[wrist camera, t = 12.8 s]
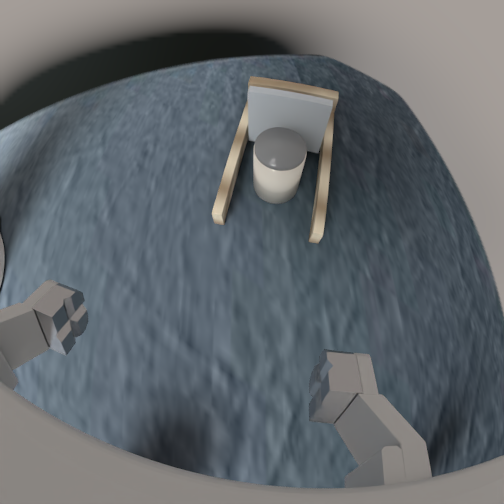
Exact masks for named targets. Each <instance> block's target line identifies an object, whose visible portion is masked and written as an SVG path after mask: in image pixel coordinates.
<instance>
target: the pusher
mask: <svg viewBox="0 0 504 504" xmlns="http://www.w3.org/2000/svg"><path fill="white" fill-rule="evenodd" d="M332 107H333V100H329V99H325V98H320V97H315V96H311V95H306V94H300V93H295V92H289V91H283V90H277V89H271V88H264V87H256V86H250V87H249V89H248V132H249V141H256V138H257V137H258V135H259V134H260V133H262V132H263V131H265V130H267V129H270V128H274V127H283V128H288V129H291V130H293V131H295V132H297V133H298V134H299V135H300V136H301V137H302V138H303V139H304V141H305V143H306V147H307V151H310V152H314V153H319V149H320V146H321V143H322V140H323V137H324V134H325V130H326V127H327V124H328V121H329V117H330V114H331V111H332Z"/></svg>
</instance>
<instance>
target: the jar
mask: <svg viewBox="0 0 504 504" xmlns="http://www.w3.org/2000/svg"><path fill="white" fill-rule="evenodd" d="M306 156H307V147H306V143H305V141H304V139H303V138H302V137H301V136H300V135H299V134H298V133H297V132H295V131H293V130H291V129H288V128H283V127H274V128H270V129H267V130H265V131H263V132H262V133H260V134H259V135H258V137H257V138H256V141H255V144H254V155H253V186H254V190H255V192H256V194H257V195H258V196H259V197H260V198H261V199H262V200H264V201H266V202H268V203H273V204H281V203H285V202H287V201H289V200H291V199H292V198H293V197H294V196H295V194H296V192H297V189H298V185H299V182H300V178H301V174H302V171H303V167H304V163H305V160H306Z"/></svg>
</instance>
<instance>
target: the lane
mask: <svg viewBox="0 0 504 504" xmlns="http://www.w3.org/2000/svg"><path fill="white" fill-rule="evenodd" d="M250 86H256V87H264V88H271V89H277V90H283V91H289V92H295V93H300V94H306V95H311V96H315V97H320V98H325V99H329V100H333V107H332V111H331V114H330V117H329V121H328V124H327V127H326V130H325V134H324V137H323V140H322V143H321V148H320V157H319V166H318V175H317V183H316V191H315V199H314V207H313V214H312V221H311V228H310V235H309V242H313V243H318V242H319V241H320V239H321V238H322V236H323V232H324V224H325V216H326V207H327V198H328V188H329V177H330V166H331V154H332V140H333V124H334V111H335V108H336V105H337V102H338V92H337V91H332V90H328V89H324V88H319V87H314V86H310V85H304V84H299V83H294V82H288V81H282V80H275V79H268V78H261V77H252V76H251V77H250V80H249V82H248V89H249V87H250ZM248 137H249V132H248V100H247V103H246V106H245V109H244V112H243V115H242V118H241V121H240V124H239V127H238V130H237V133H236V136H235V139H234V142H233V145H232V148H231V151H230V154H229V158H228V161H227V164H226V167H225V170H224V174H223V177H222V180H221V184H220V187H219V190H218V194H217V197H216V200H215V204H214V207H213V211H212V216H213V219H214V222H215V223H216V224H221V225H224V223H225V219H226V215H227V212H228V208H229V204H230V200H231V197H232V193H233V189H234V186H235V182H236V179H237V175H238V171H239V168H240V164H241V161H242V157H243V154H244V150H245V147H246V144H247V140H248Z"/></svg>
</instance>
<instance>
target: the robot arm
mask: <svg viewBox="0 0 504 504" xmlns="http://www.w3.org/2000/svg"><path fill="white" fill-rule="evenodd" d="M4 260H5V255H4V245H3V240H2V237H1V234H0V287H1V283H2V278H3V272H4ZM83 302H84V297H83V293H82V292H80V291H78V290H76V289H73V288H71V287H68V286H66V285H63V284H61V283H57V282H55V281H53V280H47V281H45V282H44V283H43V284H42V285H41V286H40V287H39V288H38V289H37V290H36V291H35V292H34V293H33V294H32V295H31V296H30V297H28V298H27V299H26V300H25V301H24V302H23V303H22V304H21V303H17V304H15V305H12V306H9V307H6V308H4V309H1V310H0V504H504V455H503V456H500V457H498V458H495V459H492V460H489V461H487V462H484V463H481V464H478V465H475V466H472V467H468V468H465V469H462V470H458V471H455V472H451V473H447V474H443V475H439V476H434V477H432V474H431V468H430V463H429V457H428V452H427V447H426V442H425V441H424V440H423V439H422V438H421V437H420V435H419V434H418V433H417V432H416V431H415V430H414V429H413V428H412V427H411V426H410V424H409V423H408V422H407V421H406V420H405V419H404V418H403V417H402V416H401V415H400V413H399V412H398V411H397V410H396V409H395V408H394V407H393V406H392V405H391V403H390V402H389V401H388V400H387V399H386V398H385V397H384V396H383V395H379V394H378V389H377V384H376V380H375V375H374V370H373V366H372V362H371V357H370V356H369V354H361V353H351V352H343V351H334V350H327V349H324V350H323V351H322V352H321V354H320V356H319V364H317V365H316V366H314V369H313V371H312V373H311V377H310V382H309V393H310V395H311V396H312V397H313V398H312V400H311V402H310V403H309V421H313V422H322V423H333V424H334V426H335V428H336V429H337V431H338V433H339V434H340V436H341V437H342V439H343V441H344V442H345V444H346V446H347V447H348V449H349V450H350V452H351V454H352V455H353V457H354V458H355V460H356V462H357V463H358V465H359V467H357V468H356V469H355V470H353V471H352V472H350V473H349V474H348V475H347V476H345V488H295V487H280V486H270V485H261V484H253V483H246V482H239V481H233V480H228V479H222V478H217V477H212V476H208V475H203V474H199V473H195V472H191V471H187V470H183V469H179V468H176V467H172V466H169V465H166V464H162V463H159V462H156V461H153V460H150V459H147V458H144V457H141V456H138V455H136V454H133V453H130V452H128V451H125V450H123V449H120V448H118V447H115V446H113V445H110V444H108V443H106V442H104V441H101V440H99V439H97V438H95V437H93V436H90V435H88V434H86V433H84V432H82V431H80V430H78V429H76V428H74V427H72V426H70V425H69V424H67V423H65V422H63V421H61V420H59V419H58V418H56V417H54V416H52V415H51V414H49V413H47V412H46V411H44V410H42V409H41V408H39V407H37V406H36V405H34V404H33V403H31V402H30V401H28V400H27V399H25V398H24V397H22V396H21V395H19V394H18V393H16V392H15V391H13V389H14V388H15V386H16V385H17V383H18V379H17V377H16V376H15V374H14V373H13V371H12V370H14V369H16V368H17V367H19V366H21V365H22V364H24V363H26V362H28V361H29V360H31V359H33V358H34V357H36V356H38V355H40V354H41V353H43V352H45V351H46V350H48V349H49V348H51V349H53V350H55V351H58V352H60V353H62V354H64V355H67V354H68V353H69V351H70V350H71V349H72V347H73V346H74V344H75V343H76V342H75V337H77V336H80V335H82V333H83V332H84V331H85V329H86V326H87V323H88V313H87V310H86V308H85V307H84V306H83Z"/></svg>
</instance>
